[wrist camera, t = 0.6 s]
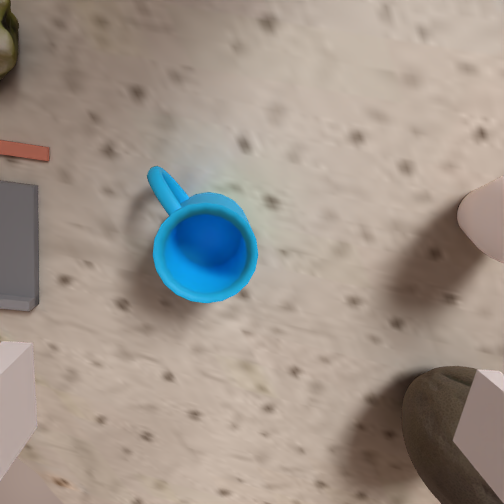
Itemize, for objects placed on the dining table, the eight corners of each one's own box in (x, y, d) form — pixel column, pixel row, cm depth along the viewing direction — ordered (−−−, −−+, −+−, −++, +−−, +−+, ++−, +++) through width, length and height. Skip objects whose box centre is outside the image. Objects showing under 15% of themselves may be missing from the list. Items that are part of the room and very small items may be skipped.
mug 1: (265, 241, 35) (278, 265, 27) (201, 285, 36) (196, 321, 28) (194, 141, 32) (185, 135, 24) (125, 191, 32) (95, 202, 24)
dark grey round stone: (356, 420, 42) (427, 557, 27) (417, 325, 39) (531, 423, 25) (445, 452, 45) (553, 592, 30) (508, 366, 42) (659, 475, 27)
